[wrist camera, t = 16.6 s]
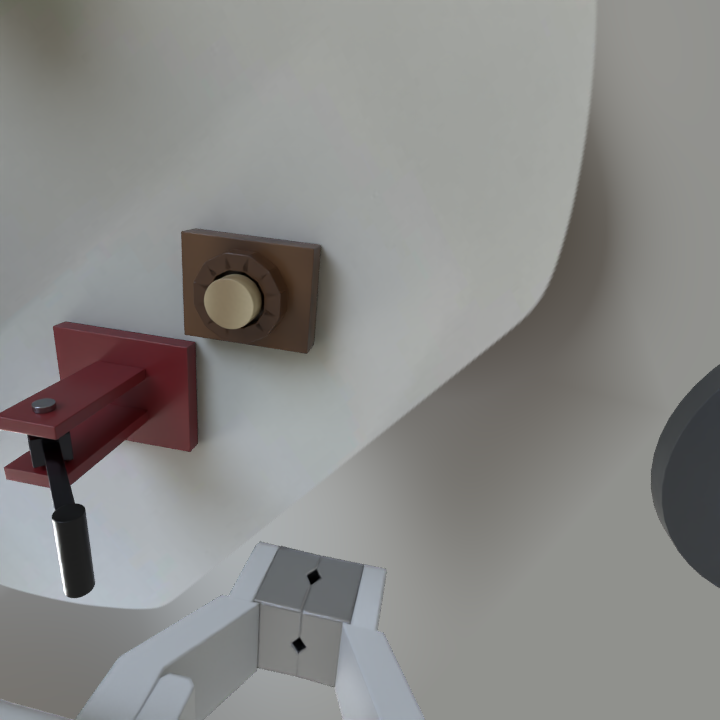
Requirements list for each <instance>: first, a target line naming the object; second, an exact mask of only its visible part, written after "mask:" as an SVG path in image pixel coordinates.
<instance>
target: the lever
mask: <svg viewBox="0 0 720 720" xmlns="http://www.w3.org/2000/svg"><path fill="white" fill-rule="evenodd" d="M27 436H28V443H29V448H30V454H31V460H32V465H33V468H37V467H41V466H46V471H47V476H48V481H49V486H50V491H51V496H52V501H53V506H54V511H55V512H54V513H53V515H52V521H53V527H54V534H55V540H56V546H57V552H58V558H59V564H60V570H61V576H62V582H63V588H64V593H65V595H66V596H67V597H70V598H79V597H82V596H84V595H86V594H88V593H89V592H90V591H91V590H92V589H93V587H94V585H95V579H94V572H93V564H92V557H91V549H90V542H89V534H88V526H87V519H86V511H85V508H84V506H82V505H80V504H75V502H74V498H73V494H72V490H71V486H70V482H69V478H68V474H67V470H66V466H65V462H64V461H68V460H72V459H73V458H74V457H73V450H72V443H71V435H70V431H69V432H67V433H66V434H64V435H63V436H62V437H60V438H59V439H57V440H54V439H48V438H43V437H38V436H32V435H27Z"/></svg>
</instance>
